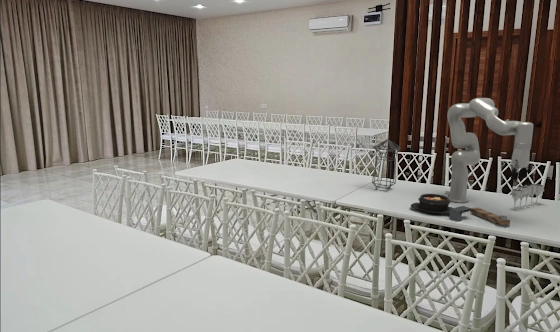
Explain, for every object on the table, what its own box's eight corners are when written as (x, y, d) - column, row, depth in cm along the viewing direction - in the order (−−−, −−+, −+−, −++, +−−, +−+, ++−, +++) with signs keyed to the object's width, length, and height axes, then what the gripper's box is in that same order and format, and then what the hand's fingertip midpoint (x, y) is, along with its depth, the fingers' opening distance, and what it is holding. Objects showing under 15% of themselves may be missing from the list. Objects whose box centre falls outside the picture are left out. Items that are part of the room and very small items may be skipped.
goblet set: (516, 211, 227) (519, 189, 224) (506, 209, 232) (509, 187, 229) (543, 204, 240) (546, 183, 237) (533, 202, 245) (536, 181, 242)
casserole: (407, 212, 225) (408, 197, 224) (414, 203, 241) (415, 190, 239) (454, 219, 213) (456, 204, 211) (458, 210, 229) (460, 196, 227)
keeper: (449, 218, 214) (450, 209, 212) (462, 215, 220) (463, 205, 219) (457, 221, 209) (458, 211, 208) (470, 217, 216) (471, 208, 214)
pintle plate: (491, 224, 205) (491, 223, 205) (499, 221, 209) (499, 221, 209) (505, 228, 200) (505, 227, 199) (512, 225, 203) (512, 225, 203)
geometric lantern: (376, 185, 285) (380, 137, 278) (398, 189, 276) (403, 139, 269) (368, 189, 273) (371, 139, 266) (390, 193, 264) (394, 141, 257)
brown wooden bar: (509, 224, 203) (510, 217, 202) (501, 225, 201) (502, 218, 201) (477, 211, 224) (477, 205, 223) (469, 212, 223) (470, 205, 222)
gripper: (522, 144, 213) (519, 175, 217) (506, 146, 204) (503, 179, 207) (538, 145, 207) (534, 177, 210) (521, 148, 198) (518, 181, 201)
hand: (518, 178), depth 209 cm, fingers open, 9 cm apart
